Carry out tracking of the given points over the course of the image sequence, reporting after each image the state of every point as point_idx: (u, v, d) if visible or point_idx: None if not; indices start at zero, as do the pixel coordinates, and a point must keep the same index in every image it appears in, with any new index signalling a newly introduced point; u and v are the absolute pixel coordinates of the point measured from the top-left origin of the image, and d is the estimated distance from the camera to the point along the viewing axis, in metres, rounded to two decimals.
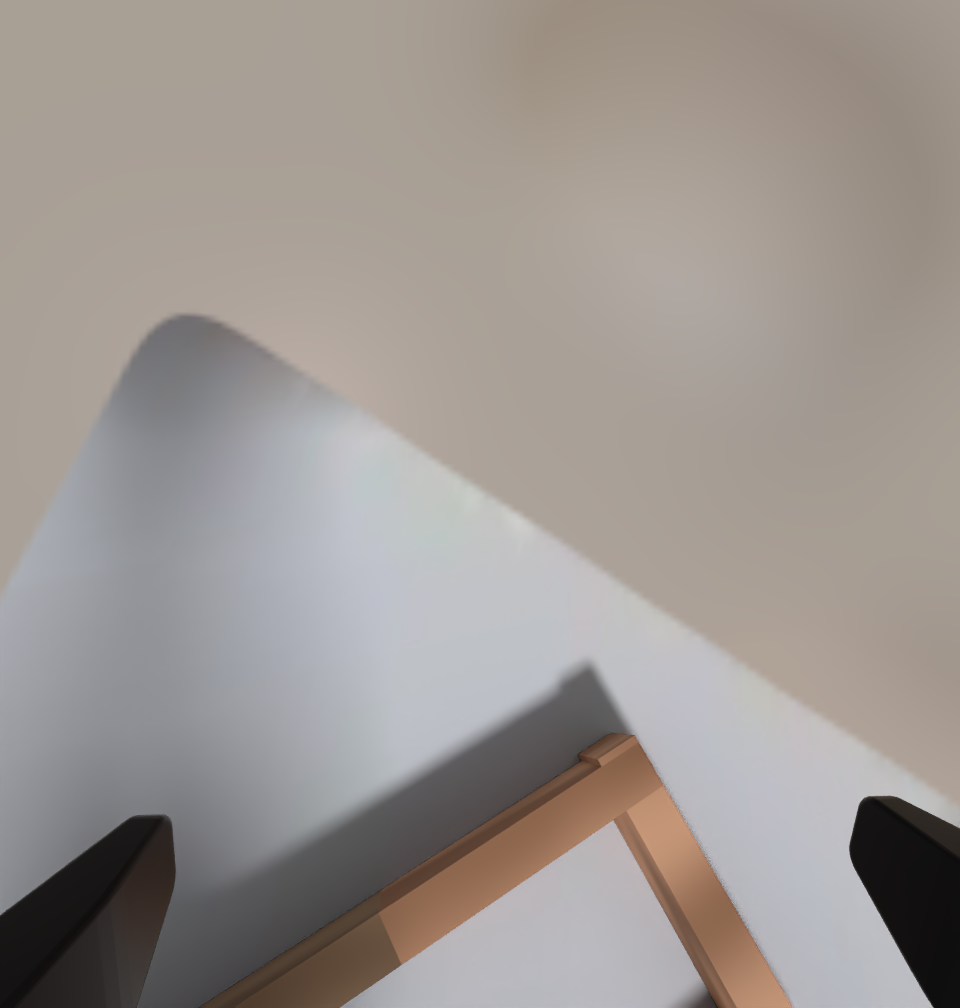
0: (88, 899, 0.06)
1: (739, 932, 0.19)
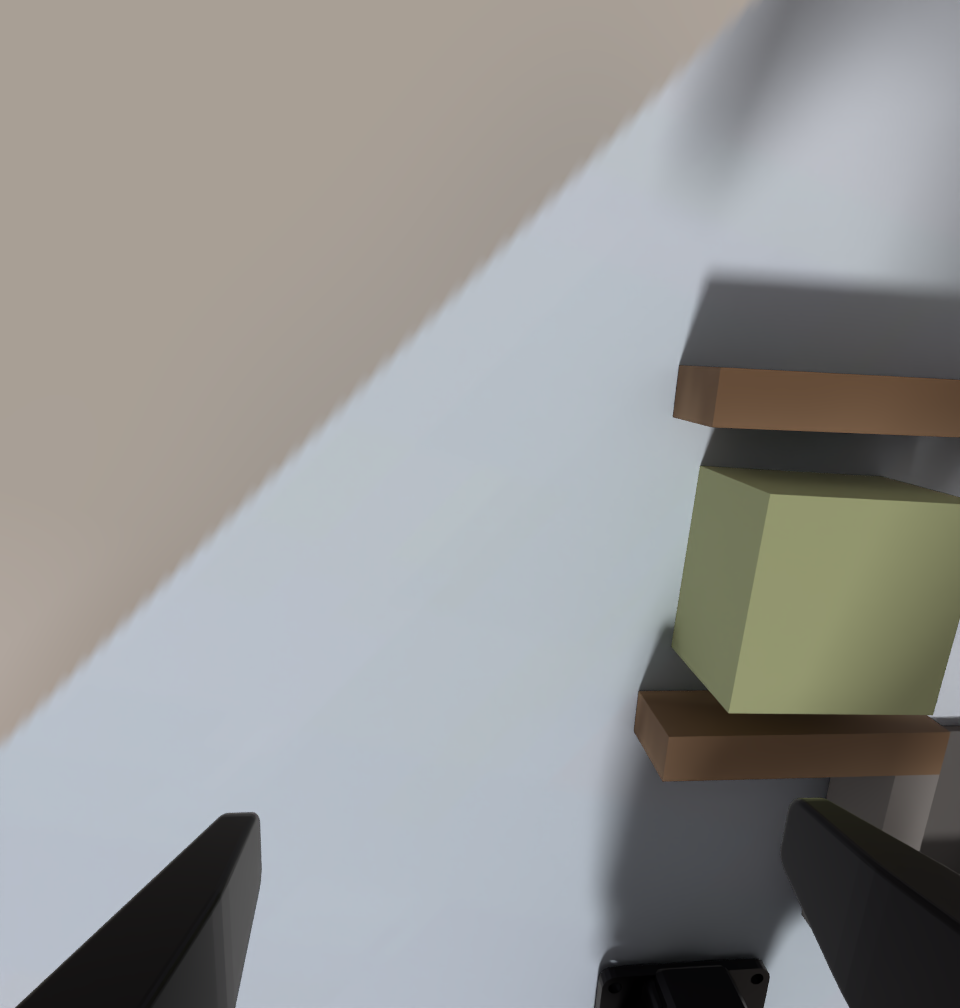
0: (201, 895, 0.06)
1: None
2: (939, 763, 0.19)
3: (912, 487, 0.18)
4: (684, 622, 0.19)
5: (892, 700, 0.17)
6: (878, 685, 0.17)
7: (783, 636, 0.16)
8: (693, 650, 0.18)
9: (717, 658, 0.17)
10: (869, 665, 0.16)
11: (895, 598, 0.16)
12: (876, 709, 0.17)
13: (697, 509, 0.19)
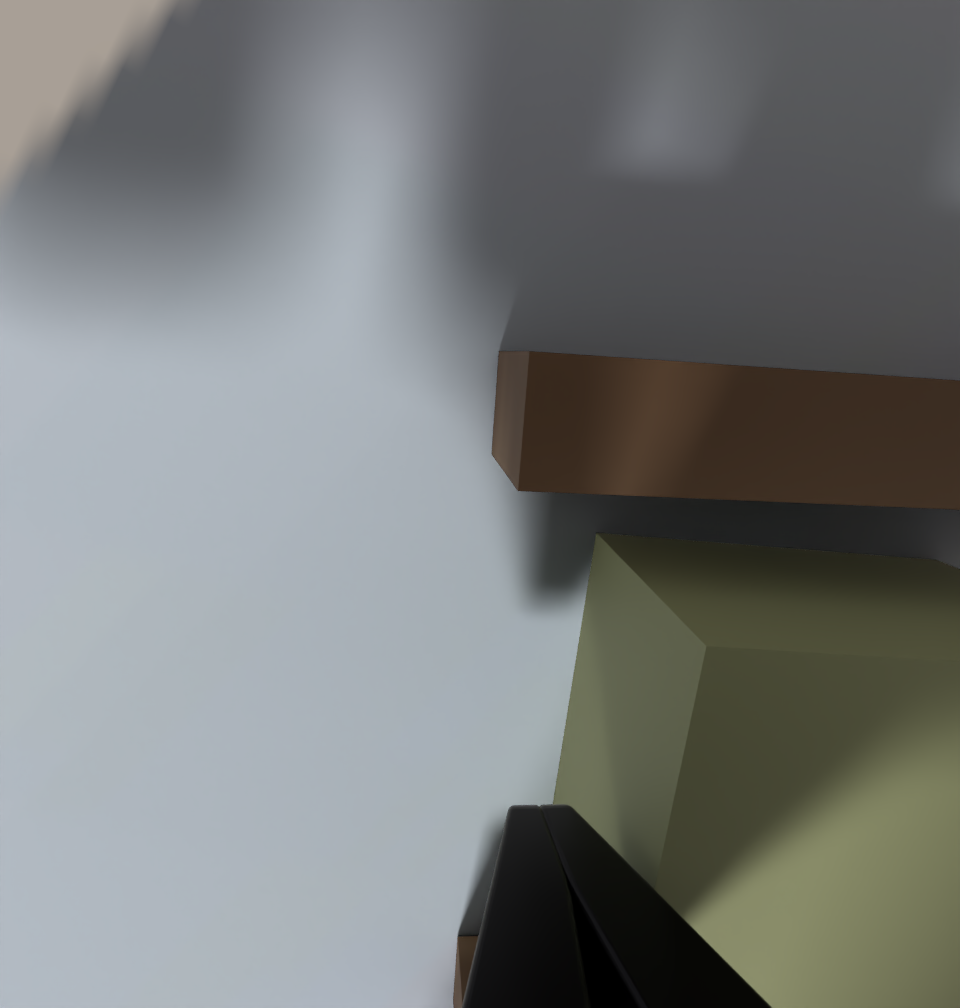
0: (554, 880, 0.06)
1: None
2: None
3: None
4: None
5: None
6: None
7: (734, 952, 0.07)
8: None
9: None
10: (923, 1002, 0.07)
11: None
12: None
13: (590, 618, 0.10)
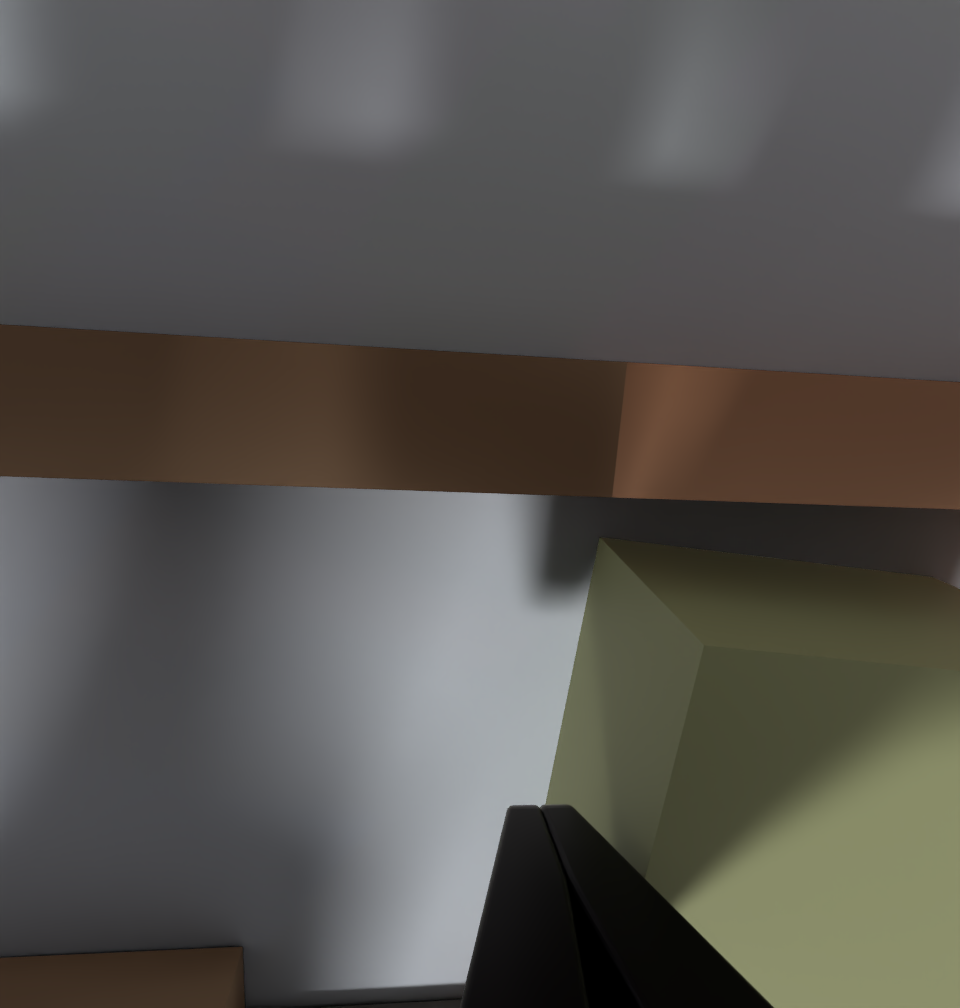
0: (553, 881, 0.06)
1: None
2: None
3: None
4: None
5: None
6: None
7: (719, 946, 0.07)
8: None
9: None
10: (900, 1002, 0.08)
11: None
12: None
13: (587, 618, 0.10)
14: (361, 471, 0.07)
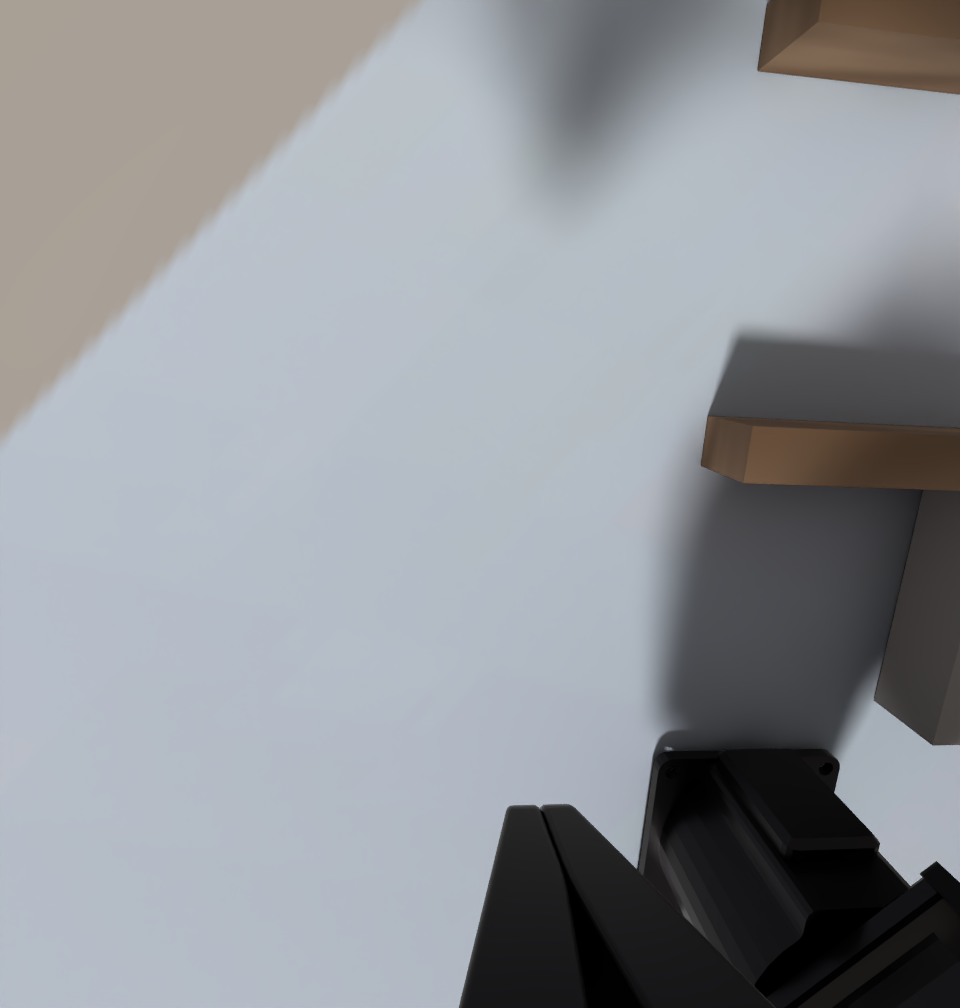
0: (552, 880, 0.06)
1: None
2: None
3: None
4: None
5: None
6: None
7: None
8: None
9: None
10: None
11: None
12: None
13: None
14: None
